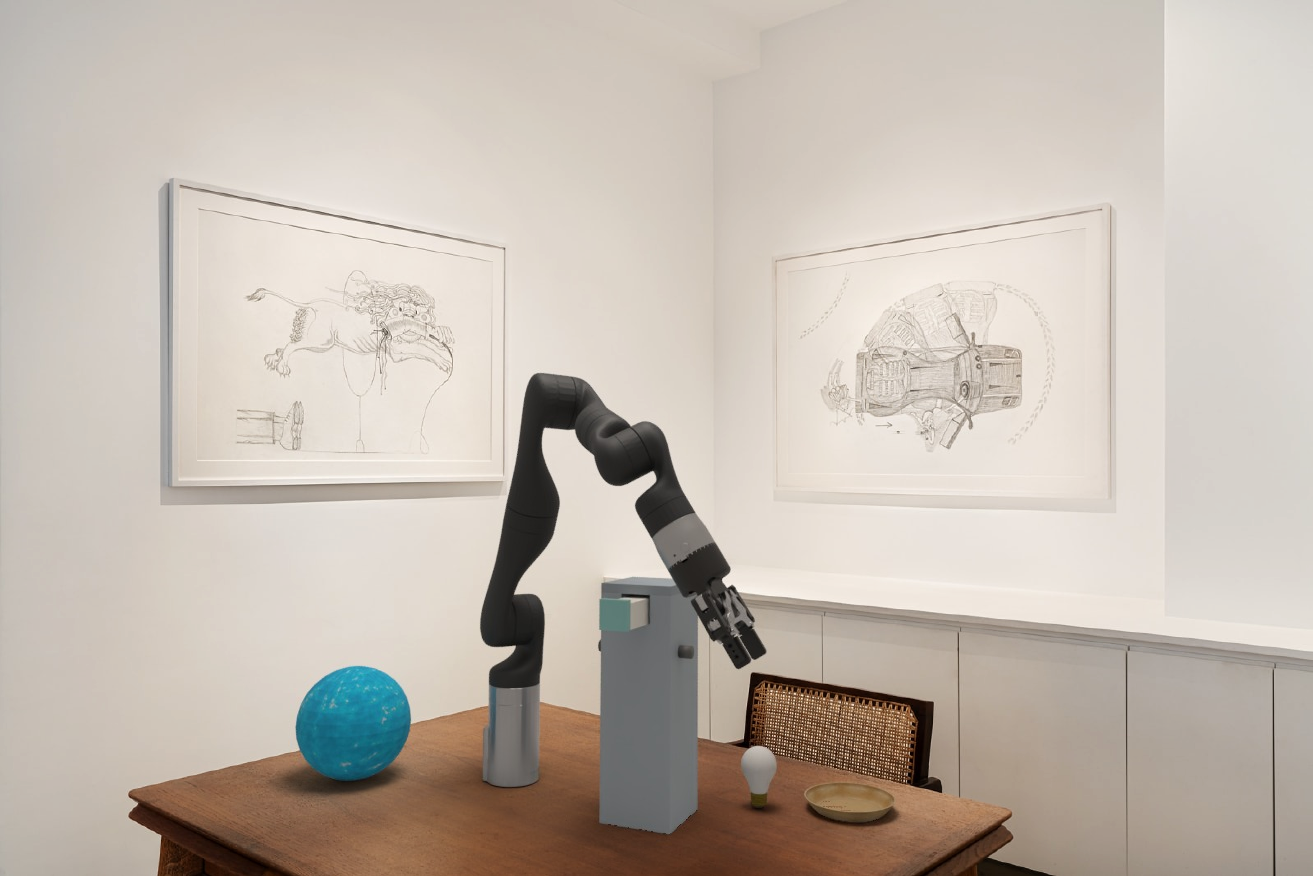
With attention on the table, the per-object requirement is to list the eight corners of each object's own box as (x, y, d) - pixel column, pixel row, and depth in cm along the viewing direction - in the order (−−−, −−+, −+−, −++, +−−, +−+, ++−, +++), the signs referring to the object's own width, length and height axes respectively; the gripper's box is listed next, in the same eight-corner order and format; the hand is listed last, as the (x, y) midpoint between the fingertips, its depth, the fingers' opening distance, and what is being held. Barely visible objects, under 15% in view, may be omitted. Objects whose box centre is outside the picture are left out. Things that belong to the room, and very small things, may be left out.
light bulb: (780, 804, 155) (779, 743, 155) (772, 816, 149) (772, 753, 150) (745, 800, 157) (745, 740, 157) (737, 811, 151) (737, 749, 152)
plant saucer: (840, 834, 142) (840, 817, 142) (786, 804, 155) (786, 788, 156) (915, 820, 148) (915, 803, 148) (857, 792, 162) (857, 777, 162)
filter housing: (588, 821, 146) (590, 582, 148) (620, 798, 157) (622, 576, 159) (681, 836, 140) (682, 587, 142) (708, 811, 151) (709, 580, 153)
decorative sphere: (360, 802, 154) (363, 681, 155) (268, 787, 162) (271, 672, 163) (432, 769, 173) (434, 661, 174) (346, 757, 180) (348, 654, 181)
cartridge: (599, 629, 138) (599, 599, 139) (649, 614, 156) (650, 587, 156) (627, 631, 137) (627, 600, 137) (675, 616, 154) (675, 588, 154)
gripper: (684, 567, 133) (743, 667, 128) (650, 571, 119) (714, 684, 115) (727, 539, 131) (788, 640, 127) (697, 541, 118) (764, 654, 113)
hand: (753, 661), depth 121 cm, fingers open, 8 cm apart
